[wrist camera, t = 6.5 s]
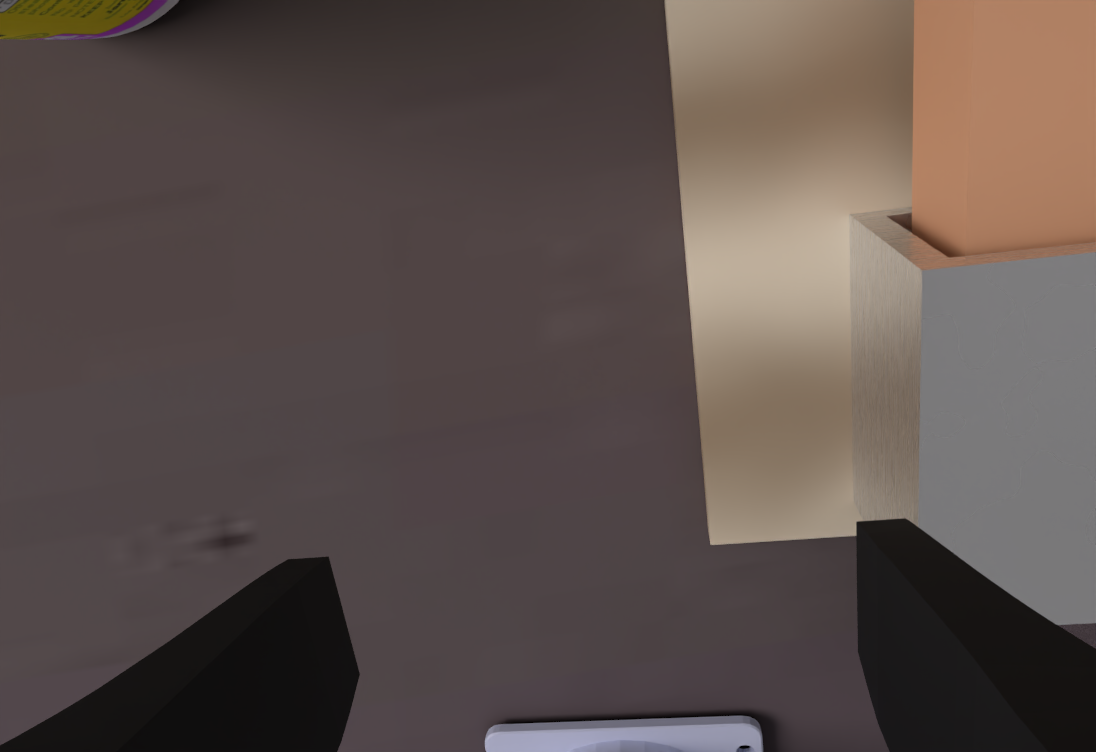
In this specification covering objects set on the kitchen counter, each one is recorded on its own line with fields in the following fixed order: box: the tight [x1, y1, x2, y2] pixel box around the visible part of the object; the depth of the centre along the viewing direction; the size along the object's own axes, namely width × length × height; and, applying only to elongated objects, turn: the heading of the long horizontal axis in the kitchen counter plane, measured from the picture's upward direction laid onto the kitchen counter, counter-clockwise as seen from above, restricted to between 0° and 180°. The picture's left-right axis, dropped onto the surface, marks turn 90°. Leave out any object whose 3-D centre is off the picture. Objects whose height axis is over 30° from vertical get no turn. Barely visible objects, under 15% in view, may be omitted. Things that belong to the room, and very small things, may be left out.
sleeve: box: [849, 207, 1096, 625], centre depth 17 cm, size 7×5×5 cm
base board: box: [664, 0, 914, 545], centre depth 18 cm, size 19×12×1 cm, turn 8°
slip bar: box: [912, 0, 1096, 258], centre depth 13 cm, size 12×3×6 cm, turn 8°
